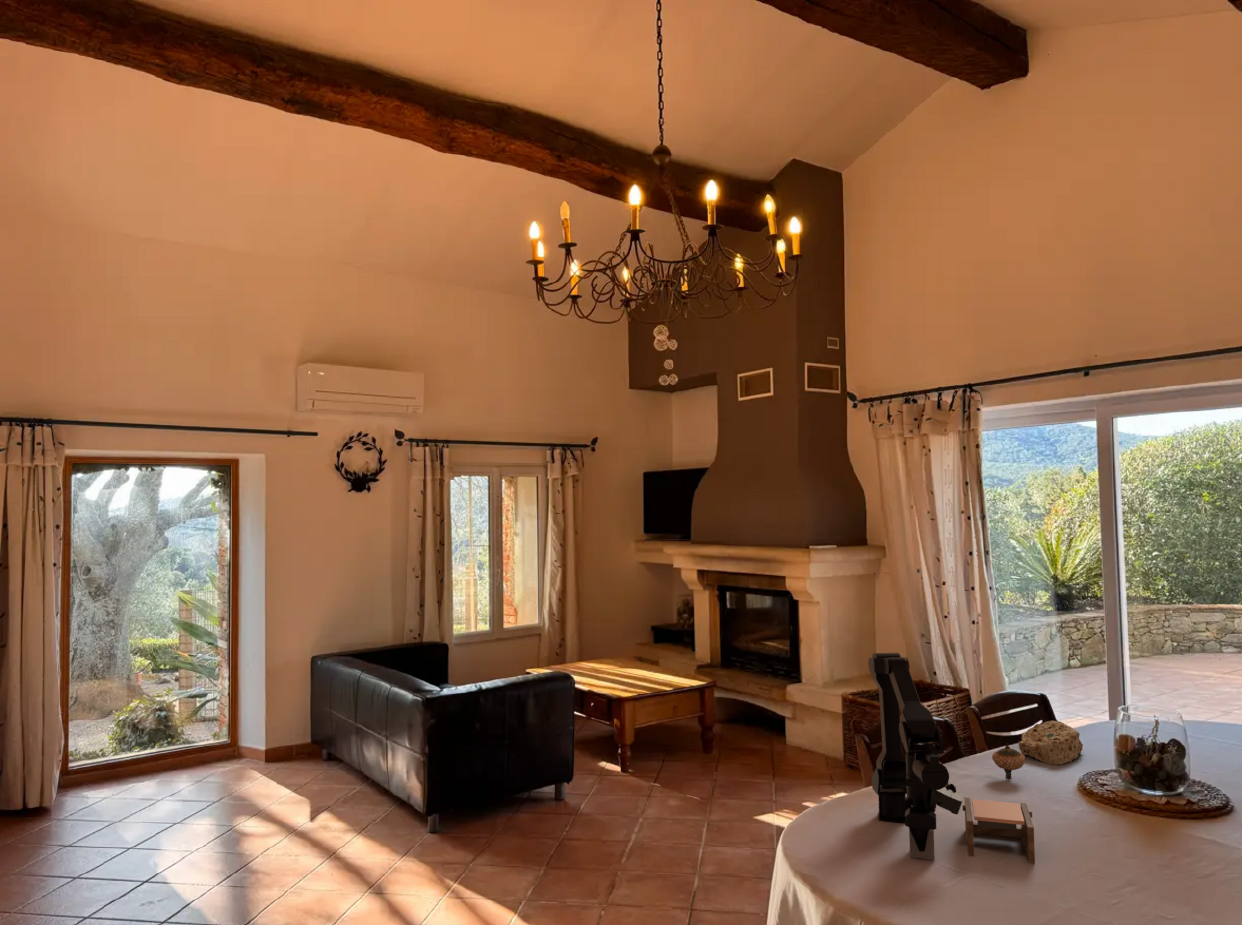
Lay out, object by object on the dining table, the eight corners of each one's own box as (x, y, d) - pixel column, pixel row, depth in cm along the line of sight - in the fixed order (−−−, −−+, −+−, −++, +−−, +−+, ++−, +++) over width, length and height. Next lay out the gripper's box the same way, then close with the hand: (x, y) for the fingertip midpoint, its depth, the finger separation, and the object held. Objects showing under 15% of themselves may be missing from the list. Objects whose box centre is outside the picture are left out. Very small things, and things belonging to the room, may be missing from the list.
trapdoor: (975, 840, 190) (974, 816, 190) (972, 821, 200) (972, 799, 200) (1025, 845, 186) (1024, 821, 186) (1020, 826, 197) (1019, 803, 197)
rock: (1069, 772, 245) (1058, 736, 246) (1019, 772, 255) (1008, 738, 256) (1094, 748, 259) (1083, 714, 260) (1046, 749, 269) (1035, 717, 271)
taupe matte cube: (910, 856, 188) (909, 828, 188) (910, 847, 192) (909, 820, 192) (934, 859, 186) (933, 831, 186) (934, 850, 191) (933, 822, 191)
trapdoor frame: (965, 855, 188) (964, 820, 189) (962, 829, 203) (961, 797, 203) (1038, 864, 184) (1036, 827, 184) (1030, 836, 198) (1029, 803, 198)
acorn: (1027, 777, 238) (1026, 740, 238) (1024, 786, 231) (1022, 748, 231) (995, 773, 242) (993, 736, 242) (990, 781, 235) (989, 744, 235)
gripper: (960, 792, 178) (963, 868, 178) (958, 764, 196) (960, 834, 195) (904, 786, 182) (906, 862, 181) (906, 760, 199) (908, 828, 199)
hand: (922, 846), depth 189 cm, fingers closed on taupe matte cube, 5 cm apart
